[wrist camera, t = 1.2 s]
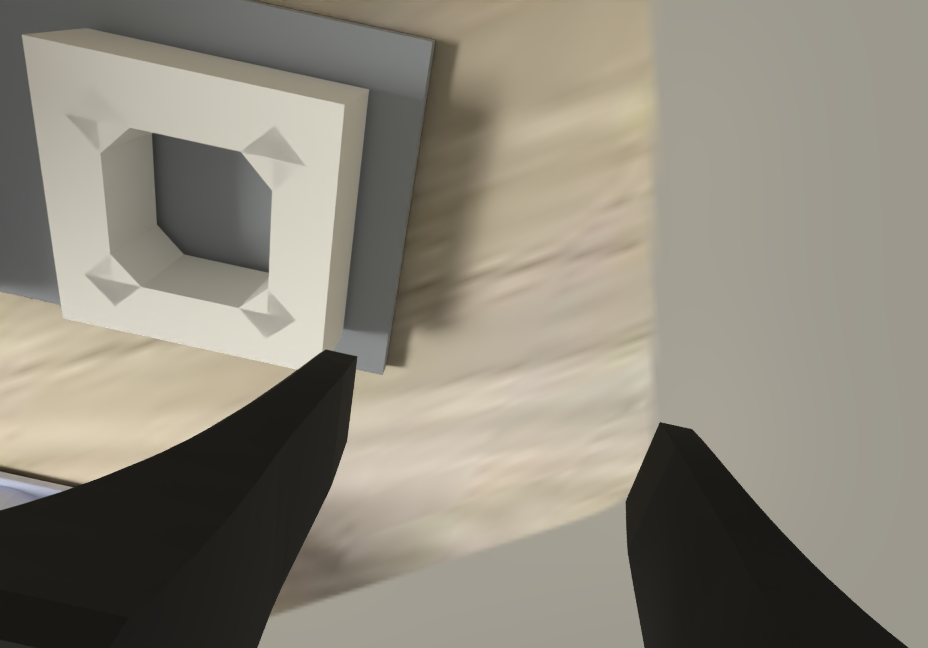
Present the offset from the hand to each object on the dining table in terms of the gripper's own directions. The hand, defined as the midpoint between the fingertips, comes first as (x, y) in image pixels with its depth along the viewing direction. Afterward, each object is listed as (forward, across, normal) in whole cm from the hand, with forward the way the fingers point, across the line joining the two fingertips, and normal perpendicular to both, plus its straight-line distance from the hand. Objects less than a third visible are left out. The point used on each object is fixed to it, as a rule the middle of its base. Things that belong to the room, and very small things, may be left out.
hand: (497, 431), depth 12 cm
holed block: (+8, +9, 0) cm, 12 cm away
